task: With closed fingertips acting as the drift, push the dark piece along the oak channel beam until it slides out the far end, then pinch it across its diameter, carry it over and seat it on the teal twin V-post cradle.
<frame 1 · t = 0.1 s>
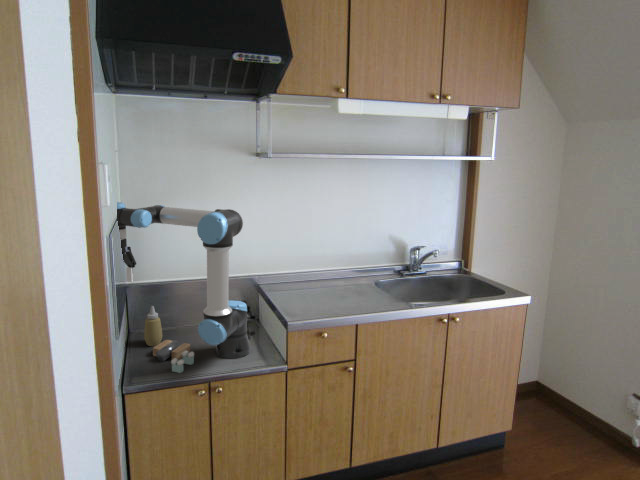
hand: (119, 285, 196), 28 cm above the countertop, fingers open, 13 cm apart
cradle: (183, 366, 184), on the countertop
dark piece: (168, 356, 193), on the countertop
squeeze bottle: (153, 344, 204), on the countertop
beam: (172, 353, 195), on the countertop
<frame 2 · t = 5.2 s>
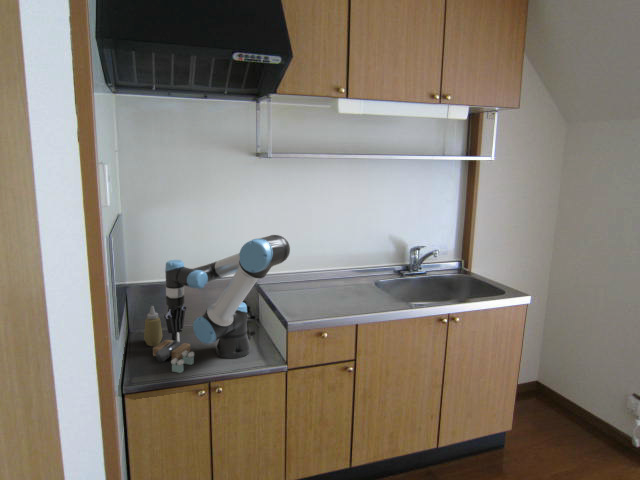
hand: (176, 345, 198), 2 cm above the countertop, fingers closed
dark piece: (167, 356, 193), on the countertop, tilted 12°, touching gripper
everything else where it was.
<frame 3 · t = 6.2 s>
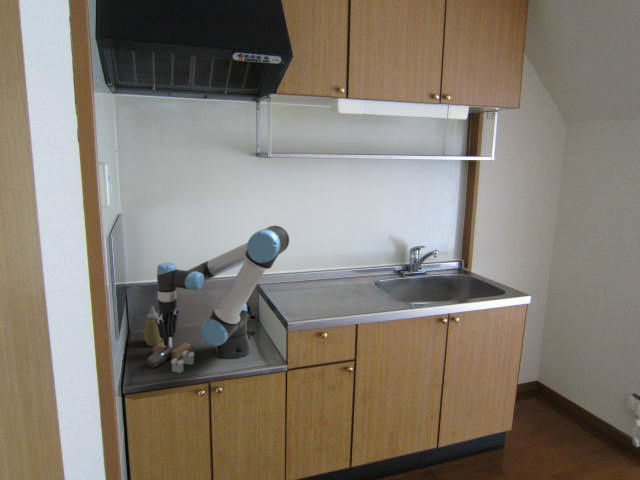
hand: (168, 351, 193), 2 cm above the countertop, fingers closed
dark piece: (159, 361, 187), on the countertop, tilted 12°, touching gripper
everything else where it was.
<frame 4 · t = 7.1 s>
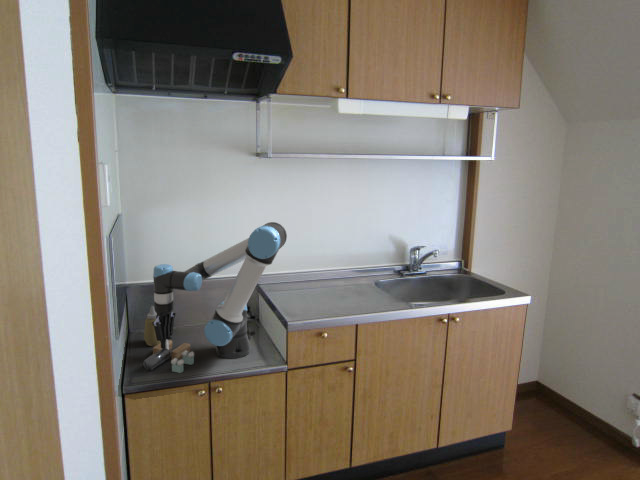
hand: (165, 353, 191), 2 cm above the countertop, fingers closed
dark piece: (156, 364, 185), on the countertop, tilted 12°, touching gripper
everything else where it was.
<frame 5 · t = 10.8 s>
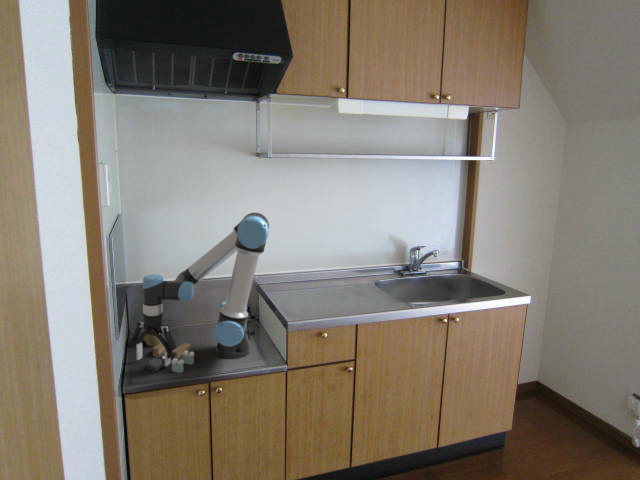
hand: (153, 361, 184), 2 cm above the countertop, fingers open, 13 cm apart
dark piece: (156, 361, 185), point 2 cm above the countertop, tilted 72°
everything else where it was.
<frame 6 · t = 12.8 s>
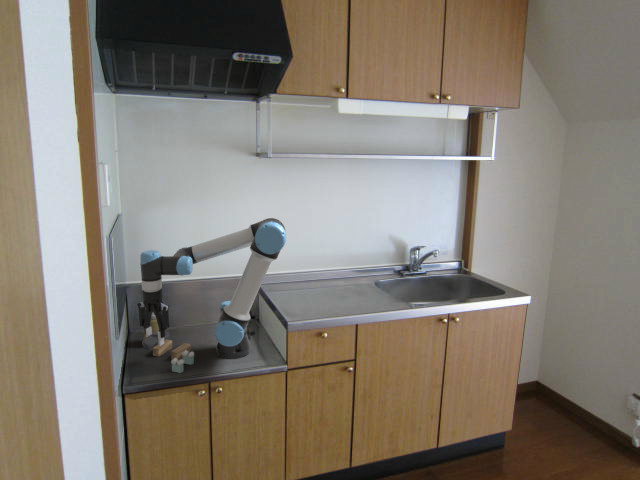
hand: (155, 343, 183), 10 cm above the countertop, fingers closed on dark piece, 5 cm apart
dark piece: (158, 344, 183), point 9 cm above the countertop, tilted 26°, touching gripper
everything else where it was.
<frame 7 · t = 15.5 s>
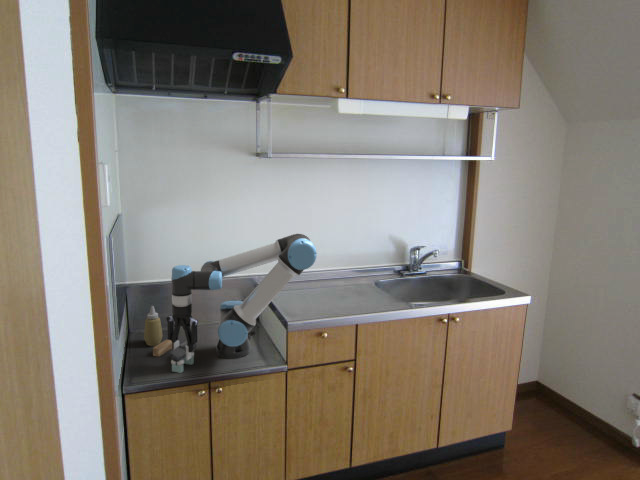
hand: (182, 357, 183), 4 cm above the countertop, fingers closed on dark piece, 5 cm apart
dark piece: (185, 355, 183), point 5 cm above the countertop, tilted 20°, touching cradle, gripper
everything else where it was.
when the fingers open (4 cm above the countertop, at t = 15.8 s): dark piece stays where it is, resting on cradle.
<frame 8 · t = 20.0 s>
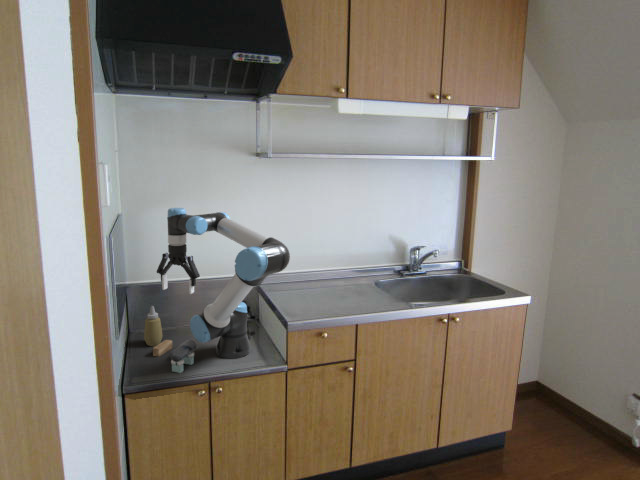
hand: (178, 291, 196), 27 cm above the countertop, fingers open, 13 cm apart
dark piece: (185, 355, 183), point 5 cm above the countertop, tilted 20°, touching cradle
everything else where it was.
at the end: dark piece 1.0 cm off-centre on the cradle, point 4.9 cm above the cradle's base; the gripper is holding nothing; dark piece moved 14.6 cm from its start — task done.
